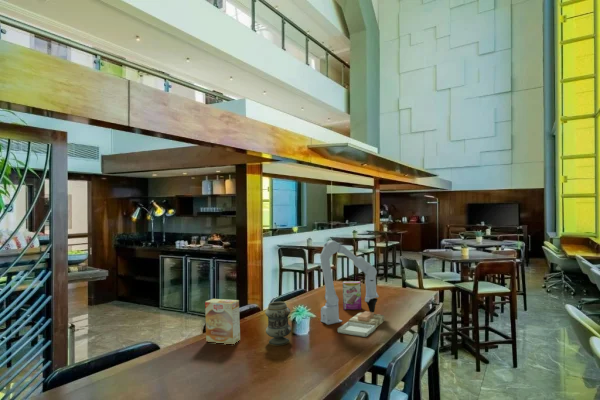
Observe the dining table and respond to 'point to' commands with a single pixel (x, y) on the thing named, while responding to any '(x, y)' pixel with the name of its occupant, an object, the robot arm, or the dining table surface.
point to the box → (356, 329)
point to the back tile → (369, 313)
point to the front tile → (363, 317)
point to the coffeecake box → (222, 321)
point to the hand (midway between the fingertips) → (372, 312)
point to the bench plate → (374, 320)
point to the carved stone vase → (278, 323)
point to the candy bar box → (352, 295)
